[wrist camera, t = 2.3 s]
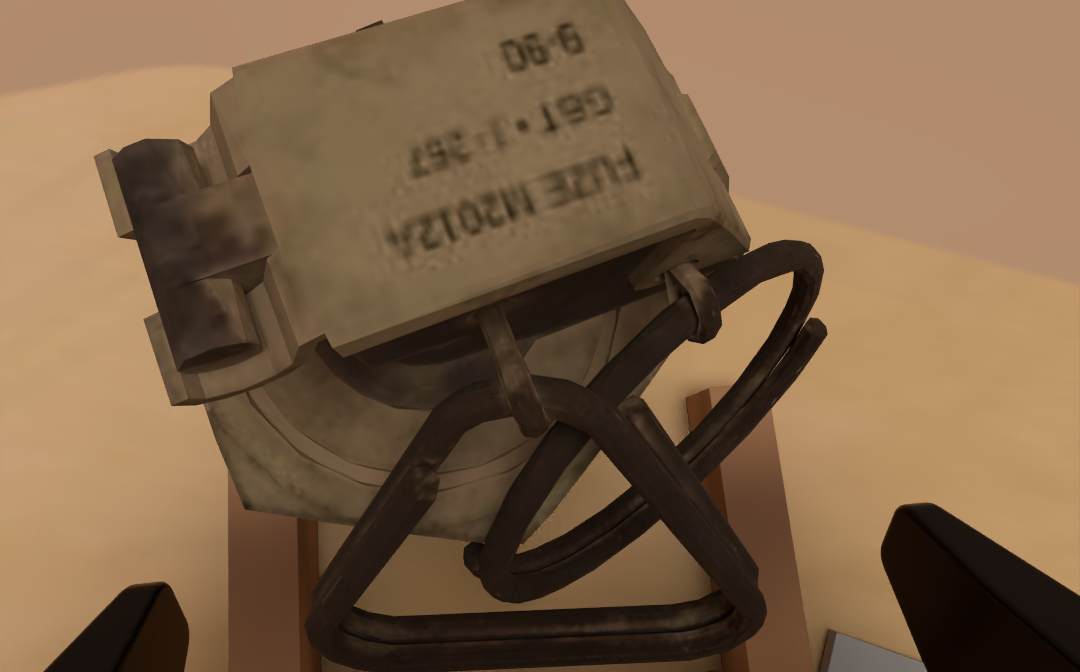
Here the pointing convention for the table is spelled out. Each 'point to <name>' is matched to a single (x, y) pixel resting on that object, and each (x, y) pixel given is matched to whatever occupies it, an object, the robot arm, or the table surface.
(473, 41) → the grenade model
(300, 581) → the brown flat open frame
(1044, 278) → the table surface
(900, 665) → the felt mat
